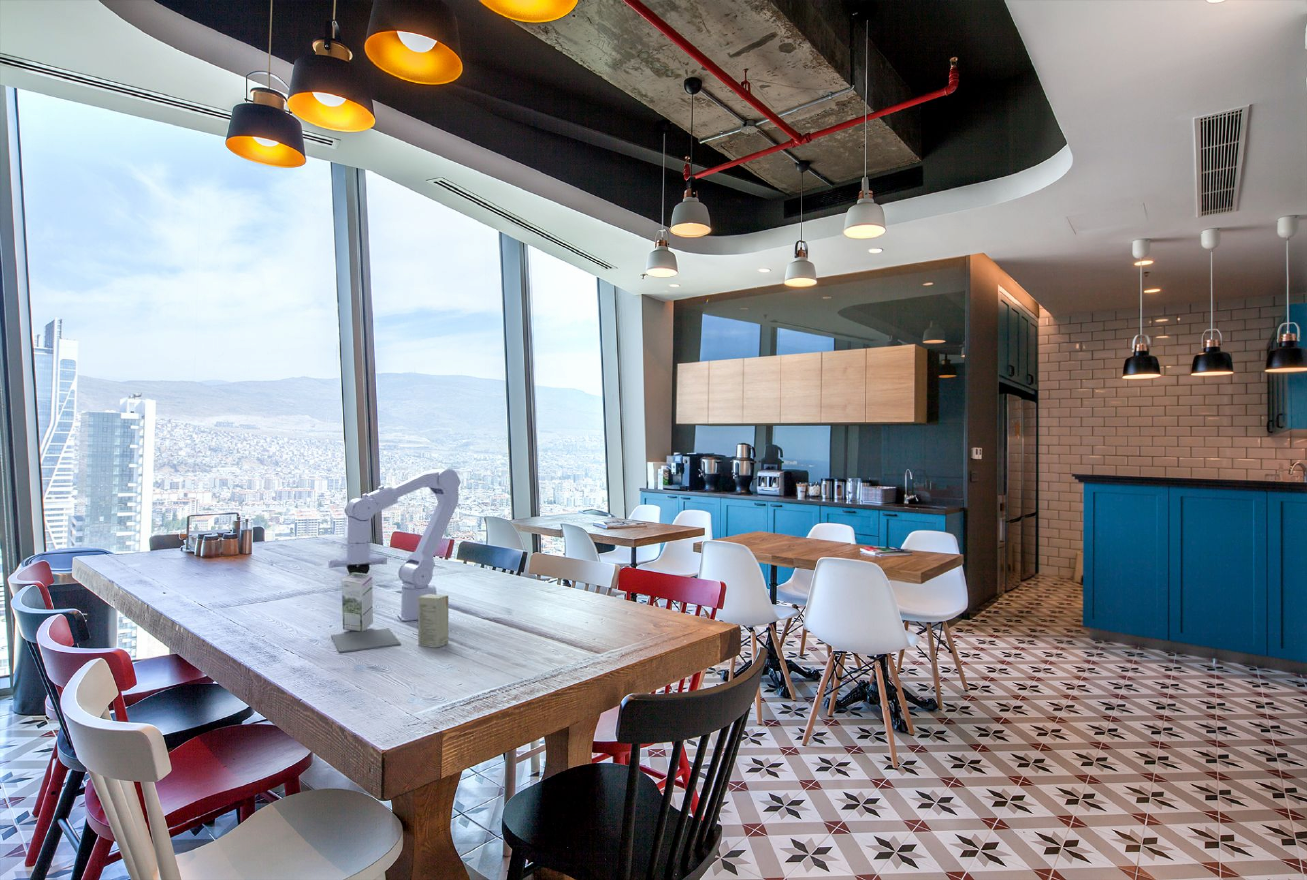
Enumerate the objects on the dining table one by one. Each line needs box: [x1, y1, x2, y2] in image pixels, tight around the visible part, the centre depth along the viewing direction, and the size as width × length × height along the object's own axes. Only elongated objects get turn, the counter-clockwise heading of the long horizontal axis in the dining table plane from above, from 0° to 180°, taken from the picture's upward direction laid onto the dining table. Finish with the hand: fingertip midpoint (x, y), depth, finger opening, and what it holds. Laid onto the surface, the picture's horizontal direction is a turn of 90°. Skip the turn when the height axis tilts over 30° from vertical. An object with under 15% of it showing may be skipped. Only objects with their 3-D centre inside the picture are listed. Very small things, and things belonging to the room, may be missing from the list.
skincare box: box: [417, 593, 449, 648], centre depth 165 cm, size 6×4×12 cm
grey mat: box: [330, 627, 402, 654], centre depth 167 cm, size 14×16×1 cm
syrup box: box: [341, 572, 374, 632], centre depth 176 cm, size 6×6×14 cm
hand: (357, 592), depth 180 cm, fingers closed
